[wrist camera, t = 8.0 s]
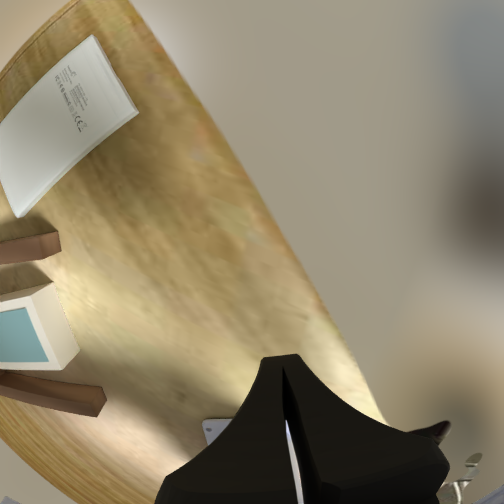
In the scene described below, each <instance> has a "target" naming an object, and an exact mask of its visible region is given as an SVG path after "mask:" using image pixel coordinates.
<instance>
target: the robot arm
mask: <svg viewBox="0 0 504 504" xmlns="http://www.w3.org/2000/svg"><path fill="white" fill-rule="evenodd" d="M202 427H203V430H204V434H205V437H206V440H207V444H208V446H207V447H206V448H205V449H204V450H203V451H201V452H200V453H199V454H198V455H197V456H196V457H194V458H193V459H192V460H190V461H189V462H188V463H186V464H185V465H183V466H182V467H180V468H179V469H177V470H176V471H174V472H173V473H171V474H169V475H167V476H166V477H165V479H164V481H163V483H162V485H161V487H160V490H159V492H158V494H157V496H156V500H155V503H154V504H439V500H438V498H437V496H436V493H437V491H438V490H439V488H440V487H441V485H442V484H443V482H444V480H445V479H446V477H447V474H448V472H449V470H450V465H449V462H448V461H447V459H446V457H445V456H444V454H443V453H442V451H441V450H440V449H439V447H438V446H437V445H436V444H435V443H434V441H433V440H432V439H430V438H426V437H422V436H418V435H414V434H410V433H406V432H403V431H400V430H398V429H395V428H392V427H390V426H387V425H385V424H382V423H380V422H378V421H376V420H374V419H372V418H370V417H368V416H366V415H364V414H363V413H361V412H359V411H358V410H356V409H355V408H353V407H352V406H350V405H349V404H347V403H346V402H344V401H343V400H342V399H341V398H339V397H338V396H337V395H336V394H335V393H333V392H332V391H331V390H330V389H329V388H328V387H327V386H326V385H325V384H324V383H323V382H322V381H321V380H320V379H319V378H318V377H317V376H316V375H315V374H314V373H313V372H312V371H311V370H310V368H309V367H308V366H307V365H306V364H305V362H304V361H303V360H302V358H301V357H300V356H299V355H298V354H290V355H281V356H272V357H264V358H263V359H262V360H261V363H260V367H259V371H258V373H257V376H256V379H255V381H254V383H253V385H252V387H251V390H250V392H249V394H248V395H247V397H246V399H245V401H244V402H243V404H242V406H241V407H240V409H239V410H238V412H237V413H236V415H235V416H234V418H233V419H206V420H203V422H202ZM208 428H211V429H208ZM299 473H300V475H299ZM300 480H301V482H300ZM301 487H302V488H301ZM1 504H20V503H18V502H16V501H15V500H13V499H11V498H9V497H7V496H5V497H4V499H3V501H2V502H1ZM472 504H504V484H503V485H502V486H500V487H499V488H498V489H496V490H494V491H493V492H491V493H489V494H488V495H486V496H485V497H483V498H481V499H479V500H478V501H476V502H474V503H472Z"/></svg>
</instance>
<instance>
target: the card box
mask: <svg viewBox="0 0 504 504" xmlns="http://www.w3.org/2000/svg"><path fill="white" fill-rule="evenodd" d="M79 351H80V347H79V345H78V343H77V341H76V338H75V336H74V334H73V331H72V329H71V327H70V324H69V322H68V319H67V317H66V314H65V311H64V309H63V306H62V303H61V301H60V298H59V295H58V292H57V289H56V286H55V283H54V282H52V283H47V284H43V285H39V286H35V287H31V288H27V289H23V290H19V291H15V292H11V293H7V294H3V295H0V369H10V370H63V369H64V368H65V367H66V365H67V364H68V363H69V362H70V361H71V360H72V359H73V358H74V357H75V356H76V354H77V353H78V352H79Z"/></svg>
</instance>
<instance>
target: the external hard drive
mask: <svg viewBox="0 0 504 504" xmlns="http://www.w3.org/2000/svg"><path fill="white" fill-rule="evenodd" d="M137 114H139V112H138V110H137V108H136V107H135V105H134V103H133V101H132V100H131V98H130V96H129V95H128V93H127V91H126V89H125V88H124V86H123V84H122V82H121V81H120V79H119V78H118V77H117V75H116V74H115V72H114V70H113V68H112V66H111V63H110V61H109V59H108V58H107V56H106V54H105V52H104V50H103V49H102V47H101V45H100V43H99V41H98V40H97V38H96V37H95V36H94V35H93V34H92V35H90V36H89V37H88V38H86V39H85V40H84V41H82V42H81V43H80V44H79V45H78V46H76V47H75V48H74V49H73V50H72V51H70V52H69V53H68V54H67V55H66V56H65V57H63V58H62V59H61V60H60V61H59V62H58V63H57V64H56V65H54V66H53V67H52V68H51V69H50V70H49V71H48V72H47V73H46V74H45V75H44V76H43V77H42V78H41V79H40V80H39V81H38V82H37V83H36V84H35V85H34V86H33V87H32V88H31V89H30V90H29V91H28V92H27V93H26V94H25V95H24V96H23V98H22V99H21V100H20V101H19V102H18V103H17V104H16V105H15V106H14V108H13V109H12V110H11V111H10V112H9V113H8V115H7V116H6V117H5V118H4V120H3V121H2V122H1V123H0V181H1V184H2V186H3V189H4V191H5V194H6V196H7V199H8V201H9V204H10V206H11V208H12V210H13V212H14V214H15V216H16V217H18V218H19V217H24V216H25V215H26V214H27V213H28V211H29V210H30V209H31V208H32V207H33V206H34V205H35V204H36V203H37V202H38V201H39V200H40V199H41V197H42V196H43V195H44V194H45V193H46V192H47V191H48V190H49V189H50V188H51V187H52V186H53V185H54V184H55V183H56V182H57V181H58V180H59V179H61V178H62V177H63V176H64V175H65V174H66V173H67V172H68V171H69V170H70V169H71V168H72V167H73V166H74V165H76V164H77V163H78V162H79V161H80V160H81V159H82V158H83V157H85V156H86V155H87V154H88V153H89V152H90V151H91V150H93V149H94V148H95V147H96V146H97V145H99V144H100V143H101V142H102V141H103V140H105V139H106V138H107V137H108V136H110V135H111V134H112V133H113V132H115V131H116V130H117V129H119V128H120V127H121V126H122V125H124V124H125V123H126V122H128V121H129V120H130V119H132V118H133V117H135V116H136V115H137Z"/></svg>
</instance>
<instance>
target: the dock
mask: <svg viewBox="0 0 504 504" xmlns="http://www.w3.org/2000/svg"><path fill="white" fill-rule="evenodd" d="M58 252H61V246H60V240H59V234H58V231H56V232H51V233H45V234H39V235H34V236H28V237H23V238H18V239H13V240H8V241H3V242H0V265H1V264H9V263H17V262H25V261H33V260H42V259H44V258H47V257H49V256H51V255H54V254H56V253H58ZM0 395H2V396H5V397H8V398H12V399H15V400H18V401H22V402H26V403H29V404H33V405H37V406H41V407H45V408H50V409H54V410H59V411H63V412H68V413H73V414H79V415H85V416H91V417H97V416H98V415H99V413H100V411H101V409H102V408H103V406H104V404H105V403H106V401H107V399H106V396H105V394H104V392H103V389H102V387H96V386H86V385H78V384H71V383H64V382H57V381H51V380H45V379H39V378H34V377H29V376H24V375H19V374H14V373H10V372H6V371H5V369H0Z"/></svg>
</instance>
